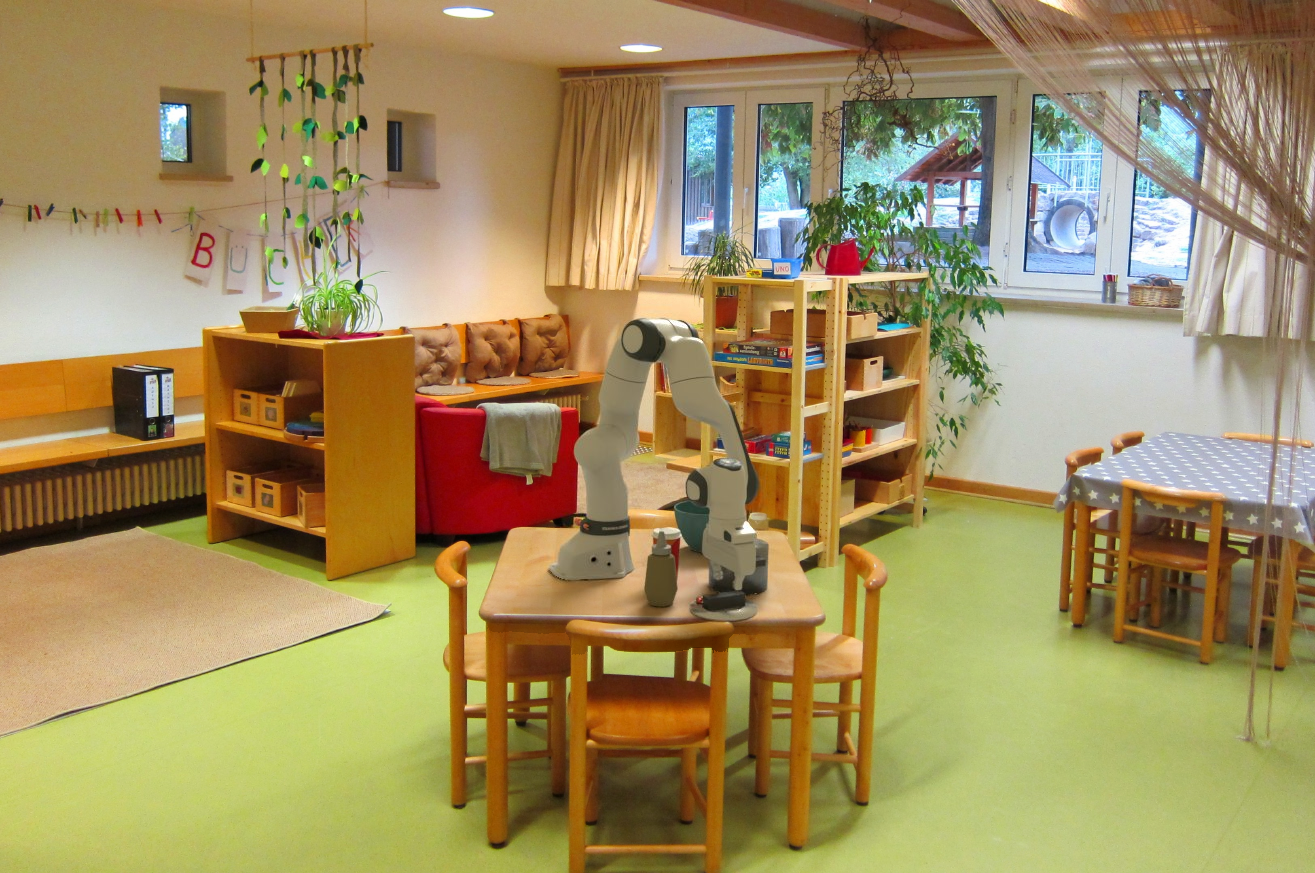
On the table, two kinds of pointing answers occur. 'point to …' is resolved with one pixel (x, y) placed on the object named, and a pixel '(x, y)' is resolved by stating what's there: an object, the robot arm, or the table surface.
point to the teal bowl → (691, 523)
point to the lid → (724, 606)
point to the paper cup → (670, 541)
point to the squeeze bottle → (661, 574)
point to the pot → (751, 582)
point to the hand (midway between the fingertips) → (727, 583)
